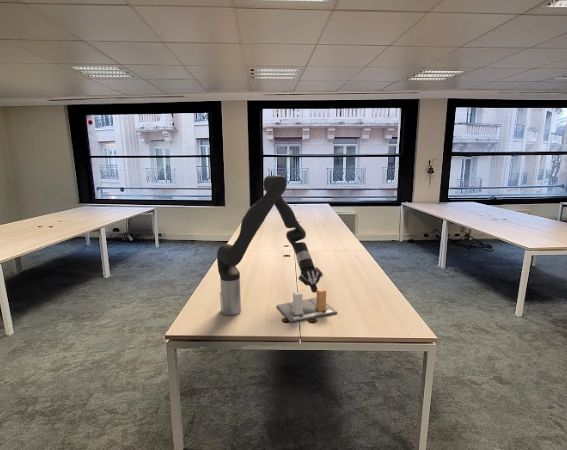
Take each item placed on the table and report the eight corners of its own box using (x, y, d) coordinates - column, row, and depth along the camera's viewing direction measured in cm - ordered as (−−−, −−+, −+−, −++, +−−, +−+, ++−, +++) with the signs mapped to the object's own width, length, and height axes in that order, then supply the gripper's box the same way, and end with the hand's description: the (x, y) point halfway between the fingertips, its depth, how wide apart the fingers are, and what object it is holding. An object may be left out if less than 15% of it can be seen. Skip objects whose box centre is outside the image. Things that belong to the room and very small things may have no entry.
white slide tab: (295, 315, 152) (295, 295, 150) (291, 311, 156) (291, 292, 154) (303, 313, 154) (303, 294, 152) (299, 309, 157) (299, 290, 156)
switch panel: (291, 323, 147) (291, 320, 147) (276, 306, 164) (276, 304, 163) (337, 313, 156) (337, 311, 156) (319, 298, 173) (319, 296, 172)
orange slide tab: (319, 311, 156) (319, 292, 154) (315, 307, 160) (315, 289, 158) (326, 310, 157) (327, 291, 155) (322, 306, 161) (322, 287, 159)
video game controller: (318, 276, 209) (314, 266, 210) (323, 274, 207) (319, 264, 207) (309, 281, 202) (305, 270, 202) (315, 279, 199) (310, 268, 200)
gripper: (295, 259, 165) (305, 290, 157) (318, 256, 170) (329, 287, 162) (291, 266, 171) (300, 297, 163) (313, 263, 176) (324, 293, 168)
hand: (315, 292), depth 162 cm, fingers closed
